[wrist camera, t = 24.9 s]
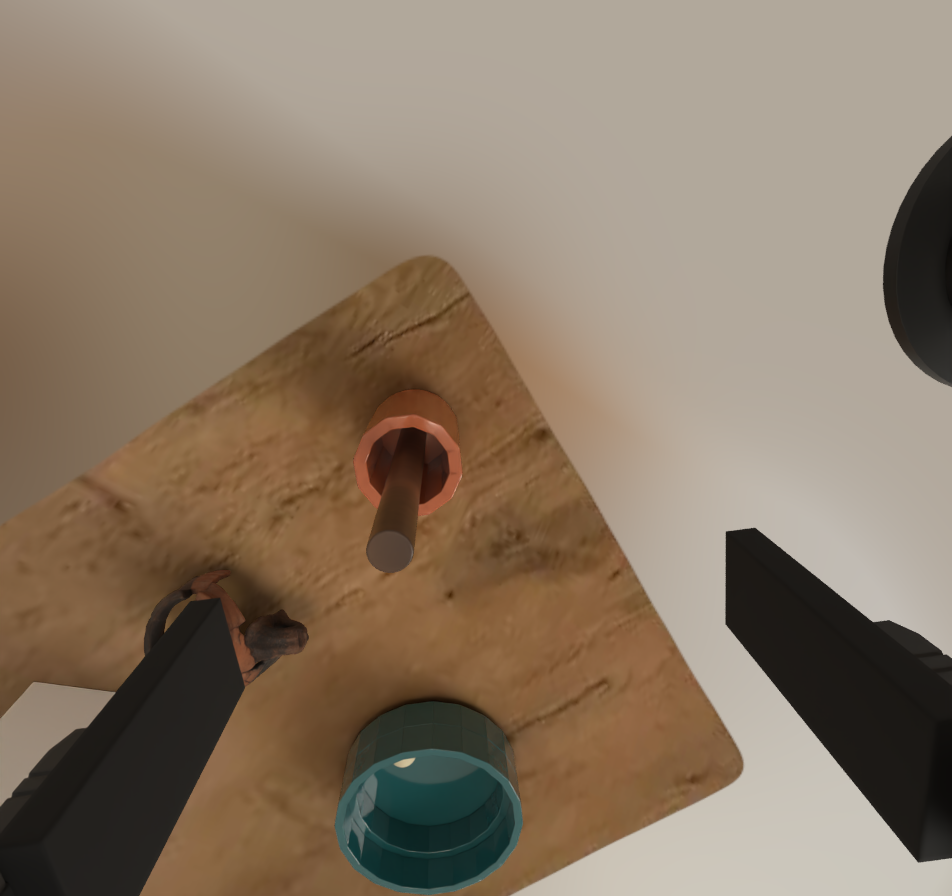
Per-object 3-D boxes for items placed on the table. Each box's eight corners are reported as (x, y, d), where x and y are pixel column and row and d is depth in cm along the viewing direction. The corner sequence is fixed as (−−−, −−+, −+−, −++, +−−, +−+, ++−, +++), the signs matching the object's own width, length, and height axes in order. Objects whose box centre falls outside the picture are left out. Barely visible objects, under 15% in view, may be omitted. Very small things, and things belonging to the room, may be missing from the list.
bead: (415, 729, 51) (419, 748, 49) (413, 751, 52) (418, 772, 49) (388, 732, 51) (391, 751, 48) (387, 755, 51) (390, 775, 49)
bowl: (505, 686, 51) (513, 737, 45) (520, 819, 55) (529, 881, 49) (333, 708, 50) (319, 763, 45) (362, 840, 55) (352, 905, 49)
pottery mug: (214, 681, 50) (133, 710, 42) (210, 571, 51) (132, 579, 43) (337, 674, 46) (275, 704, 39) (329, 557, 48) (268, 563, 40)
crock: (452, 384, 43) (454, 409, 34) (462, 466, 45) (467, 510, 36) (365, 394, 43) (345, 422, 34) (379, 476, 45) (363, 522, 36)
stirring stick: (425, 418, 43) (410, 527, 24) (428, 444, 44) (416, 570, 24) (398, 421, 43) (362, 533, 24) (402, 447, 44) (369, 576, 24)
